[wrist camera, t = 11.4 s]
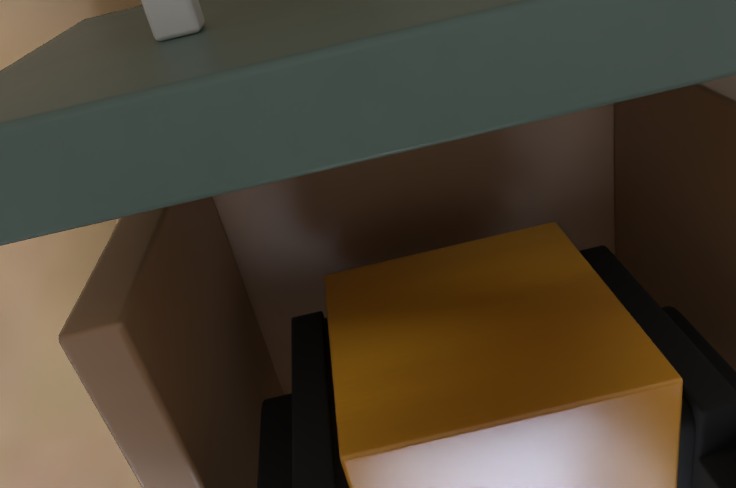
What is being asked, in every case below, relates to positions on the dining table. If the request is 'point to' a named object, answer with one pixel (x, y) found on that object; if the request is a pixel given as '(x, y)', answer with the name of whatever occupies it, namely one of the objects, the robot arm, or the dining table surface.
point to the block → (497, 372)
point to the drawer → (350, 177)
